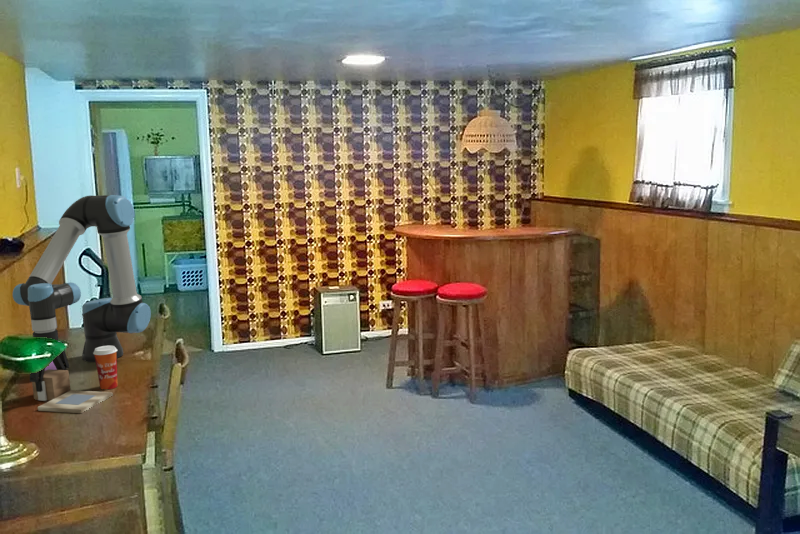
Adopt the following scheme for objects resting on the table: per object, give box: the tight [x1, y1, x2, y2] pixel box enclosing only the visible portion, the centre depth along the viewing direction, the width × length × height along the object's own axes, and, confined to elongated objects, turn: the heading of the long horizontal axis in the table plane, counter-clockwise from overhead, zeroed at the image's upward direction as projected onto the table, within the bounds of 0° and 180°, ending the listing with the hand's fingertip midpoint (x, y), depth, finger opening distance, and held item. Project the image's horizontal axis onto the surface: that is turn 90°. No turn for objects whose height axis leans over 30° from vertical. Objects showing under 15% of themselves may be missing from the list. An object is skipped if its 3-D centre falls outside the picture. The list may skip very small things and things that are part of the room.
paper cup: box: [93, 346, 119, 391], centre depth 251 cm, size 8×8×14 cm
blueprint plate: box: [37, 389, 114, 414], centre depth 237 cm, size 16×16×1 cm
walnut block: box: [31, 369, 72, 401], centre depth 245 cm, size 8×8×8 cm
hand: (52, 395), depth 245 cm, fingers open, 9 cm apart
